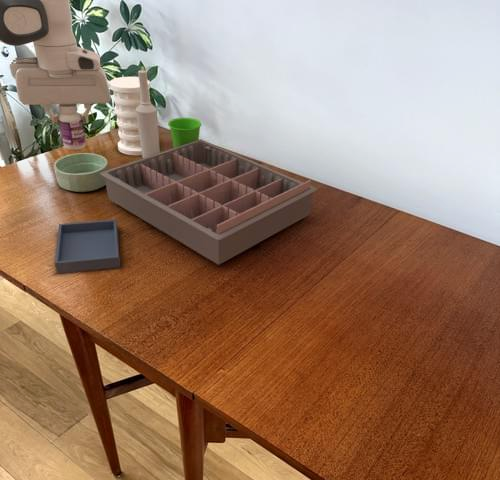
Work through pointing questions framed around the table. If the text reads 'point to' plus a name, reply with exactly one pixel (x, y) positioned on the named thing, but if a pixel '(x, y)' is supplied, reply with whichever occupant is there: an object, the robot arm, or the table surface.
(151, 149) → the bottle
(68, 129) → the pill bottle
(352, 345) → the table surface
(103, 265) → the tray
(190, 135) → the cup
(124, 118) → the decorative container
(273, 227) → the organizer tray
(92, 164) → the bowl
